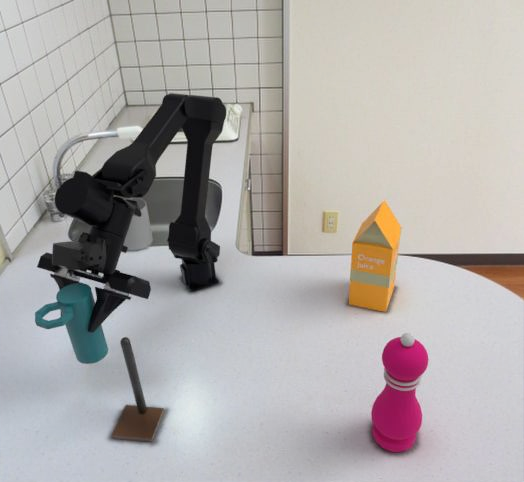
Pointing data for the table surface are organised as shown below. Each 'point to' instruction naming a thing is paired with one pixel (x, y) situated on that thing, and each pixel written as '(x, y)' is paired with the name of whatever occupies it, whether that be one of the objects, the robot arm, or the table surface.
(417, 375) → the pepper mill
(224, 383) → the table surface
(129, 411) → the peg stand
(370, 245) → the orange juice
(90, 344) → the jug
